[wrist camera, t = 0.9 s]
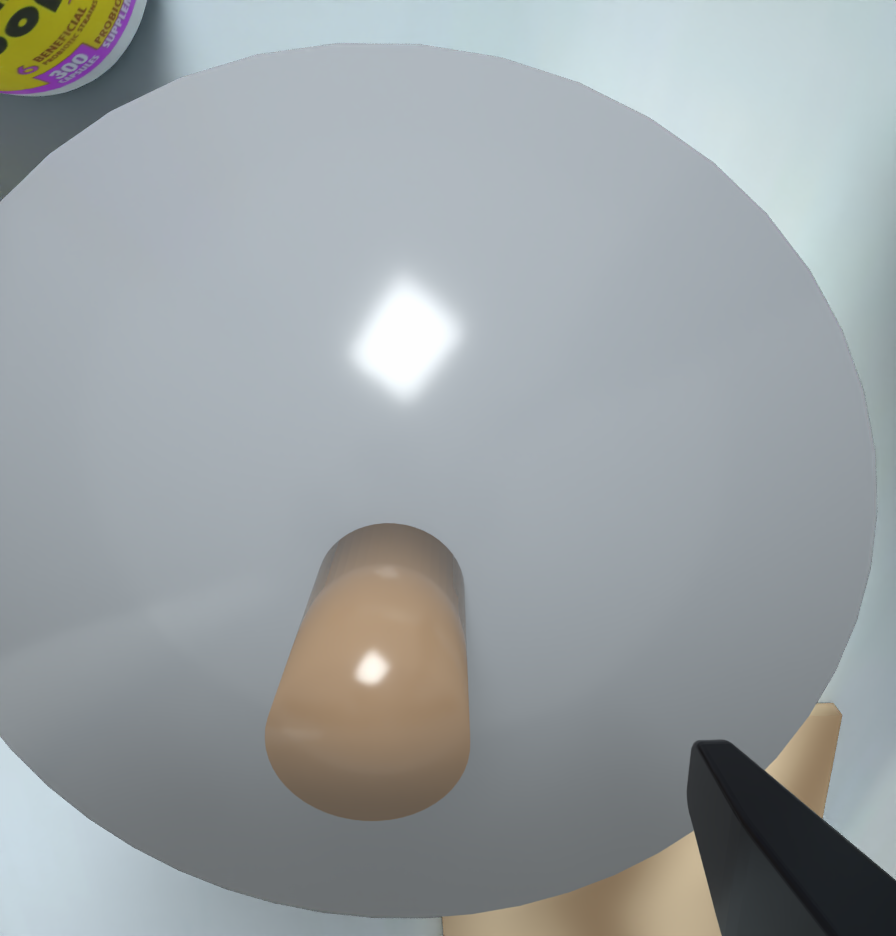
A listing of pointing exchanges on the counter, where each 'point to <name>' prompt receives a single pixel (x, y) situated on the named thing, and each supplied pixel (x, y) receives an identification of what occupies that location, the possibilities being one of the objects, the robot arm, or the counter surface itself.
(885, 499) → the counter surface
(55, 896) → the counter surface
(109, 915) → the counter surface
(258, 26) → the counter surface
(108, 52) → the supplement bottle
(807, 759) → the plate
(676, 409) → the lid
